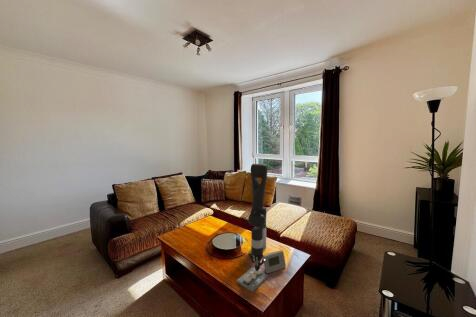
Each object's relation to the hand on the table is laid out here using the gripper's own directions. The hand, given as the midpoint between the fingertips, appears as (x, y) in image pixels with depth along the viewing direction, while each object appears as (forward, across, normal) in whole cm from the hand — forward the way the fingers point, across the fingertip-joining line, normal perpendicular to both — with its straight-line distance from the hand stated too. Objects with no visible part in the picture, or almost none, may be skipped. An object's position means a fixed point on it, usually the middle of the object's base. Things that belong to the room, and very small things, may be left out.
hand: (257, 269), depth 127 cm
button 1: (+2, 0, -10) cm, 10 cm away
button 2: (+4, 0, -5) cm, 6 cm away
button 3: (+3, 0, 0) cm, 3 cm away
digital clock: (+4, +5, +13) cm, 14 cm away
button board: (+4, 0, -5) cm, 6 cm away
